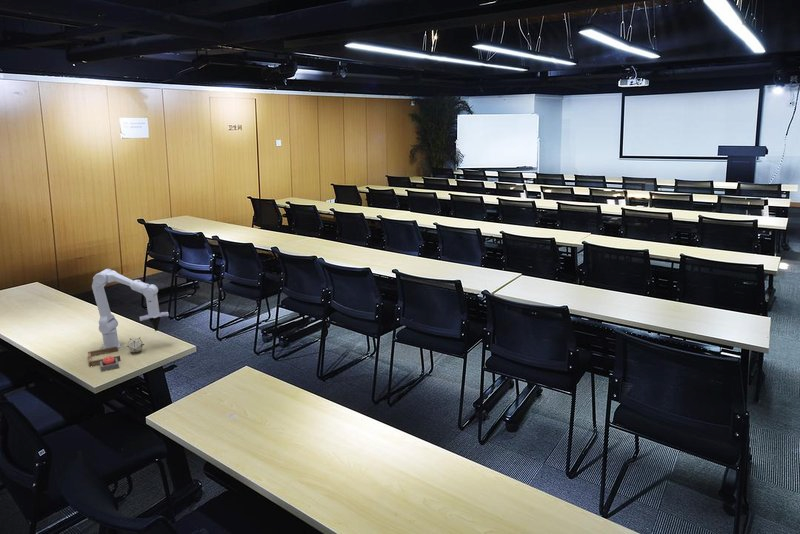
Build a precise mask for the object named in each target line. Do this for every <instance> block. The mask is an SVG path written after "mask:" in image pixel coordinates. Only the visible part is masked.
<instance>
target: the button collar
mask: <svg viewBox="0 0 800 534" xmlns="http://www.w3.org/2000/svg"><path fill="white" fill-rule="evenodd" d="M114 361H115V363H114V364H110V365H105V366H104V363H103V361H100V365H99V367H100V370H101V371H102V372H107V371H111V369H112V370H115V369H119V368H120V365H119V361H118V360H117V358H114ZM106 370H107V371H106ZM101 371H100V372H101Z"/></svg>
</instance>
